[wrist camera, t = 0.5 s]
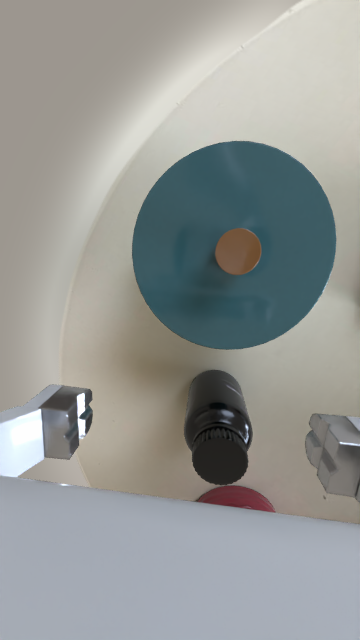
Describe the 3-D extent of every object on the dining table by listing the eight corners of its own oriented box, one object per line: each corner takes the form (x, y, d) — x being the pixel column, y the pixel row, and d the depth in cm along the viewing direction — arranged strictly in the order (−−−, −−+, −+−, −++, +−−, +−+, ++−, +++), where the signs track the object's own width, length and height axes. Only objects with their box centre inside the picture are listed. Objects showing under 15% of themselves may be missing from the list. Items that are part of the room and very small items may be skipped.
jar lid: (144, 139, 18) (121, 89, 13) (352, 159, 17) (415, 115, 12) (129, 331, 21) (106, 353, 16) (302, 356, 20) (335, 387, 15)
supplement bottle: (246, 373, 32) (271, 437, 20) (234, 419, 33) (252, 503, 22) (193, 363, 32) (188, 420, 20) (184, 409, 34) (174, 487, 22)
